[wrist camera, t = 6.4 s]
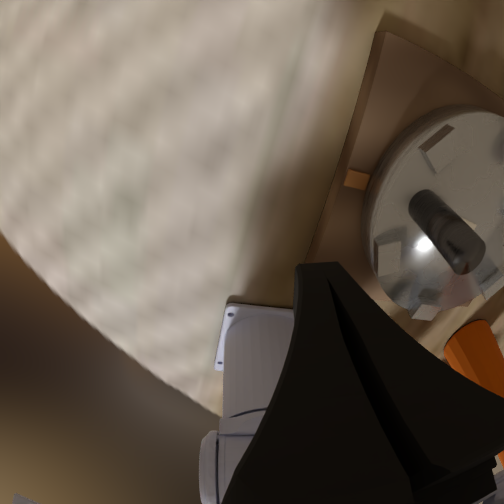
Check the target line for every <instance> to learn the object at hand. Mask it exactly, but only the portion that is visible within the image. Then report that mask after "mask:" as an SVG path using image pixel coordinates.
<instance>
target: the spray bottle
mask: <svg viewBox="0 0 504 504" xmlns="http://www.w3.org/2000/svg"><path fill="white" fill-rule="evenodd" d="M444 356H445V358H446V359H447V361H448V362H449V364H450V366H451V367H452V368H453V369H454V370H455V371H457V372H459V373H460V374H462V375H463V376H465V377H466V378H468V379H470V380H471V381H473V382H475V383H476V384H478V385H480V386H482V387H483V388H485V389H487V390H489V391H491V392H493V393H495V394H497V395H499V396H501V397H503V398H504V358H503V355H502V353H501V351H500V348H499V346H498V344H497V341H496V339H495V337H494V335H493V333H492V331H491V328H490V326H489V324H488V323H487V321H485V320H477V321H474V322H471V323H469V324H467V325H466V326H464V327H462V328H461V329H460V330H459V331H457V332H456V333H455V334H454V335H453V336H452V337H451V338H450V340H449V341H448V342H447V344H446V346H445V348H444ZM498 457H499V459H500V461H501V463H502V465H503V468H504V450H503V451H502V452H500V453H499V454H498Z"/></svg>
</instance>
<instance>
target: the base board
mask: <svg viewBox="0 0 504 504" xmlns="http://www.w3.org/2000/svg"><path fill="white" fill-rule="evenodd" d="M456 104H465V105H472V106H476V107H480V108H483V109H485V110H488V111H490V112H492V113H495V114H497V115H499V116H502V117H504V100H503V99H501V98H500V97H499V96H497V95H496V94H495V93H493V92H492V91H491V90H489V89H488V88H486V87H485V86H484V85H482V84H481V83H479V82H478V81H476V80H475V79H473V78H472V77H470V76H469V75H467V74H466V73H464V72H463V71H461V70H460V69H458V68H456V67H455V66H453V65H451V64H450V63H448V62H446V61H445V60H443V59H441V58H439V57H438V56H436V55H434V54H432V53H430V52H429V51H427V50H425V49H423V48H421V47H419V46H417V45H415V44H413V43H411V42H409V41H407V40H405V39H403V38H401V37H399V36H396V35H394V34H392V33H390V32H387V31H382V32H375V36H374V40H373V44H372V48H371V52H370V56H369V60H368V63H367V67H366V71H365V75H364V78H363V82H362V86H361V89H360V93H359V96H358V100H357V104H356V107H355V110H354V114H353V117H352V121H351V124H350V128H349V131H348V134H347V137H346V141H345V144H344V147H343V150H342V154H341V157H340V160H339V163H338V166H337V170H336V173H335V176H334V179H333V182H332V185H331V188H330V191H329V194H328V197H327V200H326V203H325V206H324V209H323V212H322V215H321V218H320V221H319V223H318V226H317V229H316V232H315V235H314V238H313V241H312V243H311V246H310V249H309V252H308V254H307V257H306V260H305V263H319V262H334V261H338V262H339V263H340V264H341V265H342V266H343V268H344V269H345V270H346V271H347V272H348V273H349V274H350V275H351V276H352V278H353V279H354V280H355V281H356V282H357V283H358V284H359V285H360V286H361V287H362V289H363V290H364V291H365V292H366V293H367V294H368V295H369V296H370V297H371V298H372V299H373V300H382V301H392V300H391V299H390V298H389V297H388V296H387V295H386V293H385V292H384V290H383V289H382V288H381V286H380V284H379V282H378V280H377V278H376V276H375V274H374V272H373V270H372V268H371V266H370V264H369V262H368V260H367V257H366V255H365V252H364V248H363V245H362V238H361V214H362V207H363V202H364V198H365V194H366V190H367V187H368V185H369V182H370V180H371V177H372V174H373V172H374V171H375V169H376V167H377V165H378V163H379V161H380V159H381V158H382V156H383V155H384V153H385V152H386V150H387V149H388V147H389V146H390V145H391V143H392V142H393V141H394V140H395V139H396V138H397V136H398V135H399V134H400V133H401V132H402V131H403V130H404V129H406V128H407V127H408V126H409V125H410V124H411V123H412V122H414V121H415V120H417V119H418V118H420V117H421V116H423V115H424V114H426V113H428V112H430V111H432V110H434V109H438V108H441V107H444V106H448V105H456ZM472 300H473V299H472ZM472 300H470V301H468V302H466V303H464V304H462V305H459V306H465V307H468V305H469V304H470V303H471V301H472Z"/></svg>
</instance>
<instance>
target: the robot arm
mask: <svg viewBox="0 0 504 504" xmlns="http://www.w3.org/2000/svg"><path fill="white" fill-rule="evenodd" d="M214 369H215V370H217V371H223V418H221V419H220V435H219V433H218V431H210V432H209V433H208V435H206V436H205V437H204V438H203V439H202V442H201V448H200V459H199V485H200V496H201V502H202V504H479V503H480V502H482V501H483V504H504V469H503V470H502V471H500V472H499V473H497V474H495V475H493V472H492V469H493V468H495V467H496V465H497V463H496V460H495V457H494V456H496V455H497V454H499V453H500V452H502V451H503V450H504V398H503V397H501V396H499V395H497V394H495V393H493V392H491V391H489V390H487V389H485V388H483V387H482V386H480V385H478V384H476V383H475V382H473V381H471V380H470V379H468V378H466V377H465V376H463V375H462V374H460V373H459V372H457V371H455V370H454V369H453V368H451V367H450V366H448V365H447V364H445V363H444V362H443V361H441V360H440V359H438V358H437V357H436V356H434V355H433V354H432V353H430V352H429V351H428V350H427V349H425V348H424V347H423V346H422V345H421V344H419V343H418V342H417V341H416V340H414V339H413V338H412V337H411V336H410V335H409V334H407V333H406V332H405V331H404V330H403V329H402V328H401V327H400V326H399V325H398V324H397V323H396V322H394V321H393V320H392V319H391V318H390V317H389V316H388V315H387V314H386V313H385V312H384V311H383V310H382V309H381V308H380V307H379V306H378V305H377V303H376V302H375V301H374V300H373V299H372V298H371V297H370V296H369V295H368V294H367V293H366V292H365V291H364V290H363V289H362V287H361V286H360V285H359V284H358V283H357V282H356V281H355V280H354V279H353V278H352V276H351V275H350V274H349V273H348V272H347V271H346V270H345V269H344V268H343V266H342V265H341V264H340V263H339V262H338V261H334V262H319V263H304V264H298V265H297V266H296V267H295V282H294V299H293V309H283V308H273V307H264V306H255V305H246V304H237V303H229V304H227V305H226V307H225V312H224V317H223V322H222V327H221V332H220V337H219V342H218V347H217V352H216V357H215V363H214ZM13 504H40V503H37V502H35V501H33V500H31V499H28V498H26V497H24V496H21V495H19V494H17V493H16V494H14V497H13Z"/></svg>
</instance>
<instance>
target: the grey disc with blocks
mask: <svg viewBox="0 0 504 504" xmlns="http://www.w3.org/2000/svg"><path fill="white" fill-rule="evenodd" d="M361 238H362V245H363V248H364V252H365V255H366V257H367V260H368V262H369V264H370V266H371V268H372V270H373V272H374V274H375V276H376V278H377V280H378V282H379V284H380V286H381V288H382V289H383V290H384V292H385V293H386V295H387V296H388V297H389V298H390V299H391V300H392V301H393V302H395V303H396V304H398V305H399V306H401V307H403V308H406V309H408V310H407V311H408V313H409V315H410V317H411V318H413V319H420V320H428V321H432V319H433V318H434V317H435V316H436V314H437V313H438V312H439V311H444V310H448V309H451V308H454V307H457V306H459V305H462V304H464V303H466V302H468V301H470V300H472V299H474V298H475V297H477V296H478V295H480V294H481V293H482V295H483V297H484V298H485V299H486V300H488V299H489V298H490V297H491V296H492V295H494V294H495V293H496V292H497V291H498V290H500V289H501V288H502V287H503V286H504V275H503V274H504V117H502V116H499V115H497V114H495V113H492V112H490V111H488V110H485V109H483V108H480V107H476V106H472V105H465V104H456V105H448V106H444V107H441V108H438V109H434V110H432V111H430V112H428V113H426V114H424V115H423V116H421V117H420V118H418V119H417V120H415V121H414V122H412V123H411V124H410V125H409V126H408V127H407V128H406V129H404V130H403V131H402V132H401V133H400V134H399V135H398V136H397V138H396V139H395V140H394V141H393V142H392V143H391V145H390V146H389V147H388V149H387V150H386V152H385V153H384V155H383V156H382V158H381V159H380V161H379V163H378V165H377V167H376V169H375V171H374V172H373V174H372V177H371V180H370V182H369V185H368V187H367V190H366V194H365V198H364V202H363V207H362V214H361Z"/></svg>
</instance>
